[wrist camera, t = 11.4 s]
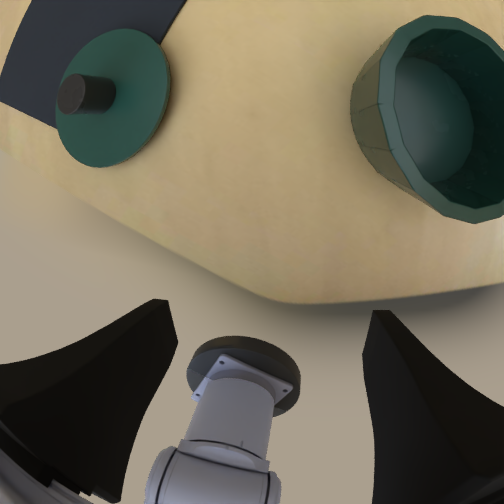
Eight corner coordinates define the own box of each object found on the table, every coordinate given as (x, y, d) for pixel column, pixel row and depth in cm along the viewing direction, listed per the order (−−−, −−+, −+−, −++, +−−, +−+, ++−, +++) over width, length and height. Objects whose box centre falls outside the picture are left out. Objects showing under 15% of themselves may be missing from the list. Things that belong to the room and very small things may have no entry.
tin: (437, 219, 16) (487, 259, 10) (322, 137, 15) (335, 136, 9) (493, 113, 12) (552, 115, 6) (387, 23, 11) (423, -19, 5)
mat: (112, 155, 18) (110, 156, 17) (-4, 98, 16) (-6, 98, 16) (211, -34, 11) (210, -36, 11) (51, -29, 10) (49, -30, 9)
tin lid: (139, 187, 18) (102, 203, 14) (52, 140, 17) (14, 147, 13) (202, 49, 14) (173, 28, 10) (95, 25, 13) (58, 14, 9)
